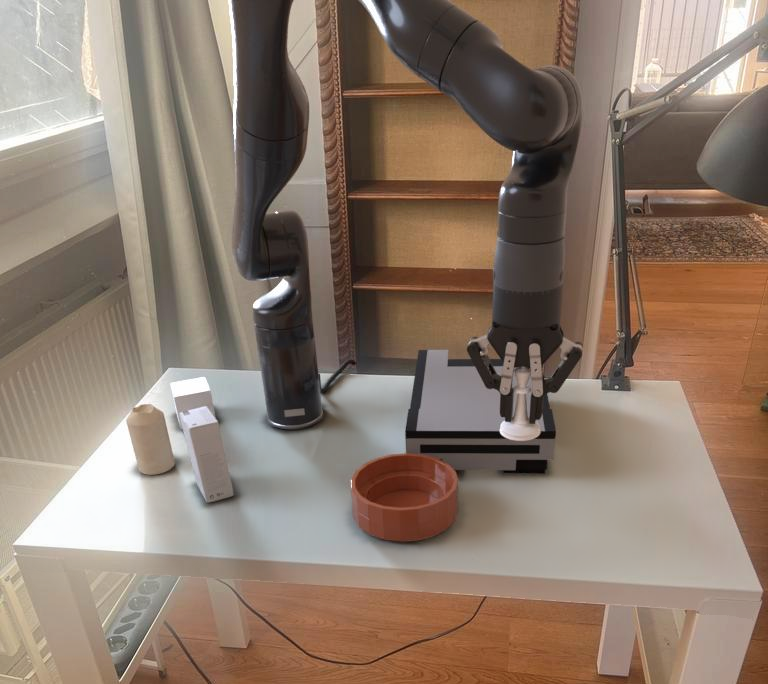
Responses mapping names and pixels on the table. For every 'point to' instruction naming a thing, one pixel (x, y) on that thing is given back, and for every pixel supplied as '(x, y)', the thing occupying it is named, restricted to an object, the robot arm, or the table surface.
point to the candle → (150, 439)
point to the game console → (470, 419)
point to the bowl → (405, 497)
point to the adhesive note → (191, 396)
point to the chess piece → (520, 412)
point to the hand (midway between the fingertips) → (520, 419)
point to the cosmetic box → (207, 453)
